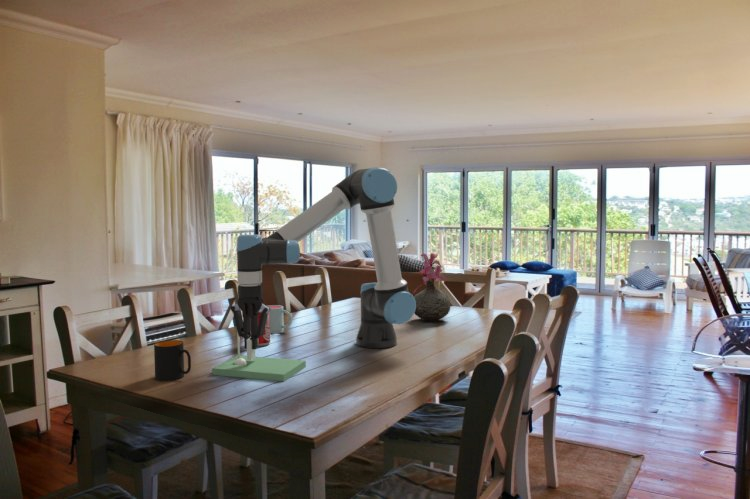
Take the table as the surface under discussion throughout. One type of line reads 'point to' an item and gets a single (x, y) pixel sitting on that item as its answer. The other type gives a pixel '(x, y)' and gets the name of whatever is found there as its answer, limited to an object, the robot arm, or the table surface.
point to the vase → (431, 294)
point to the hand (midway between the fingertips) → (251, 359)
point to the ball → (241, 362)
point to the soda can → (265, 338)
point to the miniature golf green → (260, 367)
